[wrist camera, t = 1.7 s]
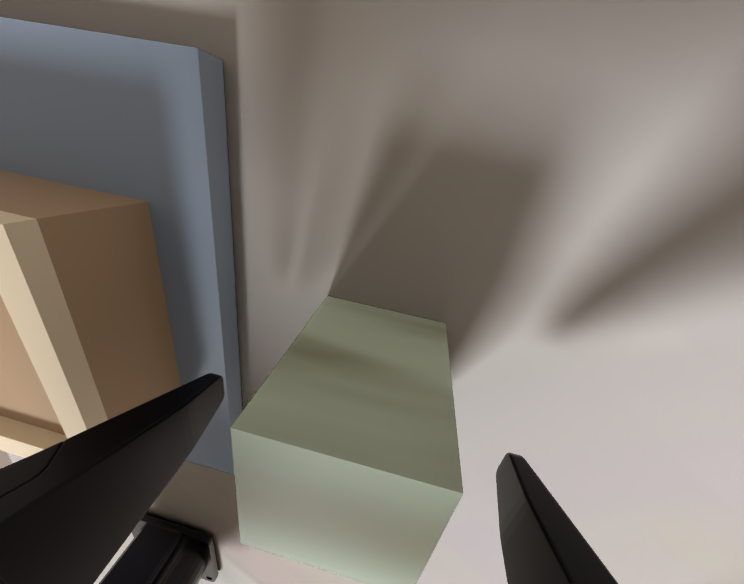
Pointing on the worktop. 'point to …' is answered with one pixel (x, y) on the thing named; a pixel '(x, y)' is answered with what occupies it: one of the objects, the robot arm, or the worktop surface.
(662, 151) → the worktop surface
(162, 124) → the build base
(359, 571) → the sage block
